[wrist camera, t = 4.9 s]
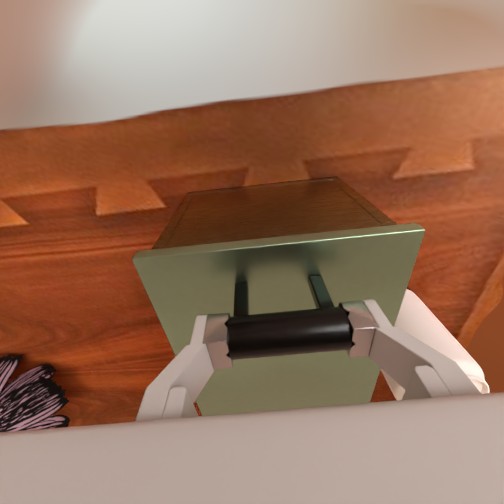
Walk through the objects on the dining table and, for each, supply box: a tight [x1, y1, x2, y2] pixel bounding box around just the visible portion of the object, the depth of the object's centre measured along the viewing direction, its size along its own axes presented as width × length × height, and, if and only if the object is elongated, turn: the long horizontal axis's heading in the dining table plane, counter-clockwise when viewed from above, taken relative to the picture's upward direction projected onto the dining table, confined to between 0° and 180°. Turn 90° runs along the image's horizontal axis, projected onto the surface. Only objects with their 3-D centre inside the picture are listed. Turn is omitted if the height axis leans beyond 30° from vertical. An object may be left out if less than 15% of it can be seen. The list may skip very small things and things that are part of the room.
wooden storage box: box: [151, 177, 398, 250], centre depth 24 cm, size 19×15×12 cm
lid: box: [132, 223, 425, 416], centre depth 16 cm, size 19×15×5 cm
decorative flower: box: [0, 355, 70, 432], centre depth 35 cm, size 15×12×15 cm
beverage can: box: [381, 289, 489, 400], centre depth 28 cm, size 8×8×12 cm
